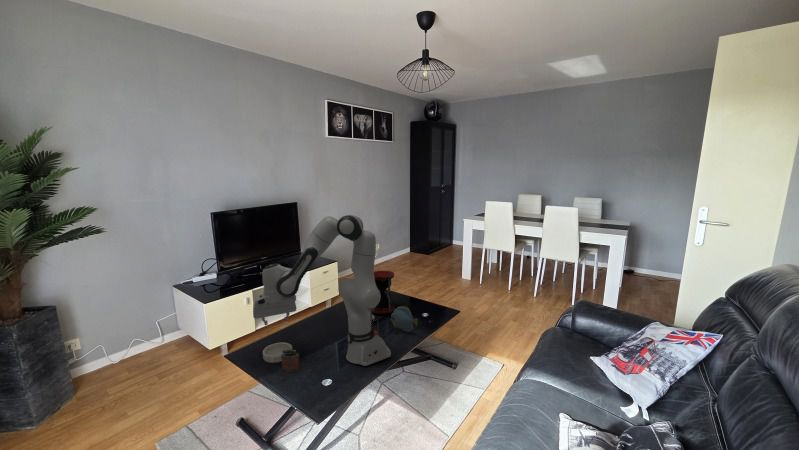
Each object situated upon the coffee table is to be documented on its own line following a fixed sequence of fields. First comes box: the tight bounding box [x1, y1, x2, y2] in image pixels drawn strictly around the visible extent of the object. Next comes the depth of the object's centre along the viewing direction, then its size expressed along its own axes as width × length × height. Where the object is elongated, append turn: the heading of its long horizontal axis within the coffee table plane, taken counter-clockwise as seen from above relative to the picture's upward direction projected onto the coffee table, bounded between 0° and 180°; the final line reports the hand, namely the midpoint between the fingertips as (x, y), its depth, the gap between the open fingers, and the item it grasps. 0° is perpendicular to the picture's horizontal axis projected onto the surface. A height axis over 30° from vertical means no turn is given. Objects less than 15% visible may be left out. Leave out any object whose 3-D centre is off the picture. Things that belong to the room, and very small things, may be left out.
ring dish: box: [262, 342, 293, 364], centre depth 170 cm, size 14×14×3 cm
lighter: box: [281, 348, 301, 373], centre depth 157 cm, size 8×3×10 cm, turn 94°
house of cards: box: [367, 308, 376, 322], centre depth 209 cm, size 9×9×8 cm
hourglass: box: [370, 270, 396, 315], centre depth 224 cm, size 16×16×25 cm
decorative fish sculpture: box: [389, 306, 418, 333], centre depth 195 cm, size 12×20×15 cm, turn 56°
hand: (276, 322), depth 168 cm, fingers open, 8 cm apart
